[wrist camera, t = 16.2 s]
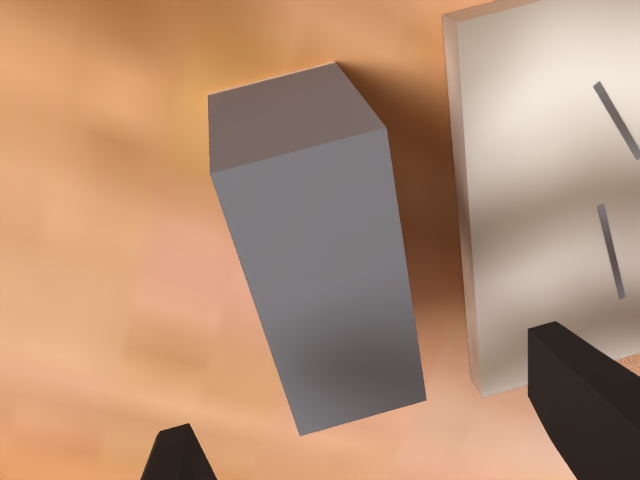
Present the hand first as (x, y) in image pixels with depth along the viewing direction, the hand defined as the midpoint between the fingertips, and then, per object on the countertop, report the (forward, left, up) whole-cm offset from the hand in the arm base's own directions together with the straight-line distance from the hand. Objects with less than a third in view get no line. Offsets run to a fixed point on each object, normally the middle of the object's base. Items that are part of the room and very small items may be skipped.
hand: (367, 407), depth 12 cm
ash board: (-3, -12, -9) cm, 16 cm away
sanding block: (0, 0, -10) cm, 10 cm away
